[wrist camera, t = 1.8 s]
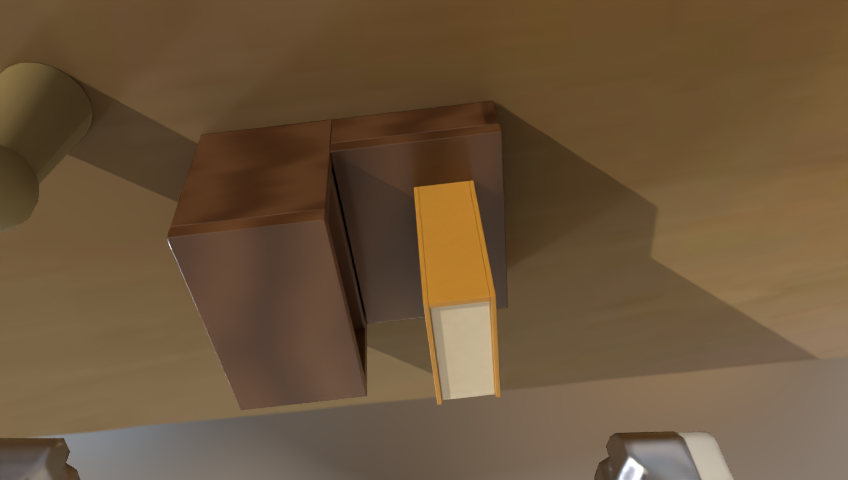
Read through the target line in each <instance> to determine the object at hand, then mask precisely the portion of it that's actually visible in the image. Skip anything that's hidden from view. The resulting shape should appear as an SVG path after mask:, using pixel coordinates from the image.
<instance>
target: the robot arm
mask: <svg viewBox="0 0 848 480" xmlns="http://www.w3.org/2000/svg"><path fill="white" fill-rule="evenodd" d="M606 448H607V451H608V455H609V457H608V458H606V459H605V460H603V461H601V462H600V463H599V465H598V468H597V470H596V473H595V478H594V480H734V478H733V476H732V474H731V472H730V470H729V468H728V465H727V463H726V461H725V459H724V457H723V454H722V452H721V450H720V448H719V446H718V444H717V441H716V439H715V438H714V437H713V436H712V435H711V434H710V433H707V432H677V433H675V432H639V433H638V432H636V433H615V434H613V435H612V436H610V439H609V441H608V443H607V446H606ZM69 453H70V451H69V449H68V447H67V444H66V442H65V440H64V438H0V480H80V478H79V475H78V472H77V470H76V469H75V468H73V467H72V466H70V465H68V464H67V463H66V461H67V459H68V456H69Z"/></svg>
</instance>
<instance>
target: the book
mask: <svg viewBox="0 0 848 480" xmlns="http://www.w3.org/2000/svg"><path fill="white" fill-rule="evenodd" d="M414 197H415V209H416V221H417V233H418V245H419V257H420V270H421V282H422V294H423V305H424V312H425V319H426V326H427V334H428V341H429V348H430V355H431V362H432V369H433V376H434V383H435V390H436V397H437V404H442V399H443V400H445V399H455V398H464V397H473V396H481V395H491V394H496V398H500V397H501V392H500V372H499V351H498V331H497V310H496V294H495V289H494V284H493V279H492V274H491V268H490V263H489V258H488V253H487V248H486V243H485V237H484V232H483V227H482V222H481V217H480V212H479V206H478V201H477V196H476V191H475V186H474V181H473V180H472V181H464V182H455V183H447V184H438V185H429V186H421V187H414Z"/></svg>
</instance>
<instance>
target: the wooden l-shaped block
mask: <svg viewBox="0 0 848 480" xmlns="http://www.w3.org/2000/svg"><path fill="white" fill-rule="evenodd" d="M332 164H333V169H334V173H335V178H336V182H337V187H338V192H339V196H340V201H341V205H342V210H343V215H344V219H345V224H346V228H347V233H348V238H349V242H350V247H351V251H352V256H353V261H354V265H355V270H356V274H357V279H358V281H356V278H355V273H354V268H353V264H352V259H351V255H350V250H349V246H348V241H347V237H346V232H345V228H344V223H343V218H342V214H341V209H340V205H339V200H338V196H337V191H336V187H335V182H334V177H333V173H332ZM472 180H473V181H474V186H475V191H476V196H477V201H478V206H479V212H480V217H481V222H482V227H483V232H484V237H485V243H486V248H487V253H488V258H489V263H490V268H491V274H492V279H493V284H494V289H495V294H496V309H502V308H507V307H508V301H507V271H506V242H505V213H504V184H503V154H502V131H501V127H500V124H499V120H498V116H497V113H496V109H495V105H494V102H493V101H488V102H480V103H472V104H463V105H455V106H446V107H438V108H429V109H421V110H412V111H404V112H395V113H387V114H378V115H370V116H361V117H353V118H344V119H336V120H325V121H316V122H308V123H299V124H291V125H282V126H274V127H265V128H257V129H248V130H240V131H231V132H223V133H214V134H206V135H201V137H200V140H199V143H198V146H197V149H196V152H195V155H194V158H193V161H192V164H191V167H190V170H189V173H188V176H187V179H186V182H185V185H184V188H183V191H182V194H181V197H180V199H179V202H178V205H177V208H176V211H175V214H174V217H173V220H172V223H171V226H170V229H169V232H168V235H167V240H168V242H169V245H170V247H171V249H172V252H173V254H174V256H175V259H176V261H177V263H178V265H179V268H180V270H181V272H182V275H183V277H184V279H185V282H186V284H187V286H188V289H189V291H190V293H191V296H192V298H193V300H194V303H195V305H196V307H197V310H198V312H199V314H200V317H201V319H202V321H203V324H204V326H205V328H206V331H207V333H208V335H209V337H210V340H211V342H212V344H213V347H214V349H215V351H216V354H217V356H218V358H219V361H220V363H221V365H222V368H223V370H224V372H225V375H226V377H227V379H228V382H229V384H230V386H231V389H232V391H233V393H234V396H235V398H236V400H237V403H238V405H239V407H240V409H241V410H247V409H256V408H265V407H274V406H283V405H292V404H301V403H310V402H319V401H328V400H337V399H346V398H355V397H364V396H367V323H377V322H386V321H395V320H404V319H412V318H421V317H425V312H424V305H423V294H422V282H421V270H420V257H419V245H418V233H417V221H416V209H415V197H414V187H421V186H429V185H438V184H447V183H455V182H464V181H472Z"/></svg>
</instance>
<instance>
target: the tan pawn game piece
mask: <svg viewBox="0 0 848 480" xmlns="http://www.w3.org/2000/svg"><path fill="white" fill-rule="evenodd" d="M92 115H93V110H92V107H91V104H90V101H89V98H88V96H87V95H86V94H85V92H84V91H83V89H82V88H81V86H80V85H79V84H78V83H76V82H75V81H74V80H73V79H72V78H71V77H70V76H68V75H67V74H65V73H63V72H61V71H59V70H57V69H56V68H54V67H51V66H47V65H43V64H39V63H19V64H16V65H13V66H10V67H7V68H6V69H5V70H4V71H3V72H2V73H0V232H4V231H8V230H11V229H14V228H16V227H17V226H19V225H20V224H22V223H23V222H24V221H25V220H27V219H28V218H29V217H30V215H31V213H32V212H33V210H34V208H35V206H36V204H37V202H38V197H39V184H40V183H41V182H42V180H43V179H44V178H45V177H46V176H47V175H48V174H49V173H50V172H51V171H52V170H53V169H54V168H55V167H56V165H57V164H58V163H59V162H60V161H61V160H62V159H63V158H64V157H65V156H66V155H67V154H68V153H69V151H70V150H71V149H72V148H73V147H74V146H75V145H76V144H77V143H78V142H79V141H80V140H81V139H82V137H83V136H84V135H85V134H86V133H87V131H88V129H89V128H90V126H91V124H92Z"/></svg>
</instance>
